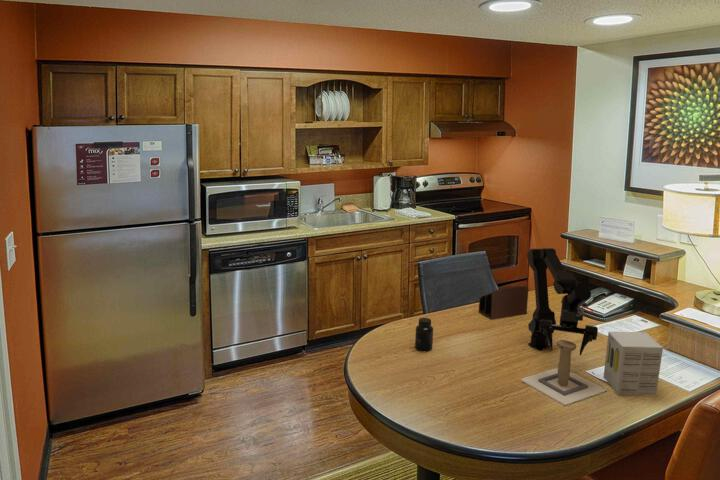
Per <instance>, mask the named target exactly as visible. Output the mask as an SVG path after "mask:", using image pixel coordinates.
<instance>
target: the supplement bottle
mask: <svg viewBox="0 0 720 480" xmlns="http://www.w3.org/2000/svg"><path fill="white" fill-rule="evenodd" d="M414 340H415V341H414V347H415V349H416V350H417V351H419V352H423V351H426V352H430V351H431V350H432V349H433V345H434V343H433V340H434V326H432V319H431V318H428V317H420V318H419V319H418V325H417V326H416V327H415V338H414Z"/></svg>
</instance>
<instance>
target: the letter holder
mask: <svg viewBox="0 0 720 480" xmlns="http://www.w3.org/2000/svg"><path fill="white" fill-rule="evenodd" d="M528 299H529V287H528V286H527V285H526V286H525V285H519V286H518V285H517V286H516V285H513V286H507V287H503V288H499V289H496V290H493V291H492V292H490V293H487V294H484V295H482V296H480V297H479V300H478V301H479V303H478V313H479V314H481V315H482V316H484V317H486V318H487V319H489V320H496V319H503V318H510V317H516V316H521V315H527V314H528V302H529V301H528Z"/></svg>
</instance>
